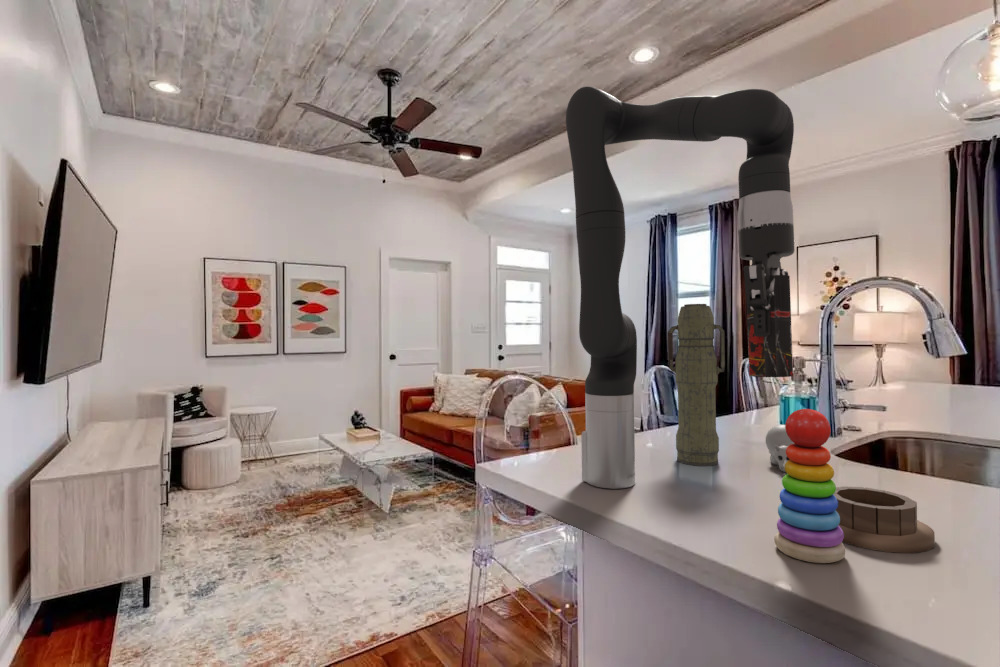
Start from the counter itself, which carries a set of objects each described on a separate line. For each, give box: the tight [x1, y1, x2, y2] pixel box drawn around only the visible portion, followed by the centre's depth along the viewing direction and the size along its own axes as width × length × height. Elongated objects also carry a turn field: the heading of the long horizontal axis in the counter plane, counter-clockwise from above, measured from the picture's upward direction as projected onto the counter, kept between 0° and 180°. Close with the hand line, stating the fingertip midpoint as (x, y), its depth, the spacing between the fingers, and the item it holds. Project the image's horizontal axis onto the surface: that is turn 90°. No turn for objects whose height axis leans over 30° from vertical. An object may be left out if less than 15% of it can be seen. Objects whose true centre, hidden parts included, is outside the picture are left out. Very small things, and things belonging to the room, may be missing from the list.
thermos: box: [667, 303, 726, 467], centre depth 116 cm, size 9×12×35 cm
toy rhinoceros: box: [765, 424, 795, 473], centre depth 110 cm, size 7×12×8 cm, turn 150°
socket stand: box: [833, 486, 936, 554], centre depth 74 cm, size 14×14×5 cm
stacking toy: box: [774, 408, 847, 564], centre depth 68 cm, size 8×8×19 cm
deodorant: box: [746, 274, 794, 378], centre depth 79 cm, size 6×6×15 cm
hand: (769, 335), depth 79 cm, fingers closed on deodorant, 6 cm apart
